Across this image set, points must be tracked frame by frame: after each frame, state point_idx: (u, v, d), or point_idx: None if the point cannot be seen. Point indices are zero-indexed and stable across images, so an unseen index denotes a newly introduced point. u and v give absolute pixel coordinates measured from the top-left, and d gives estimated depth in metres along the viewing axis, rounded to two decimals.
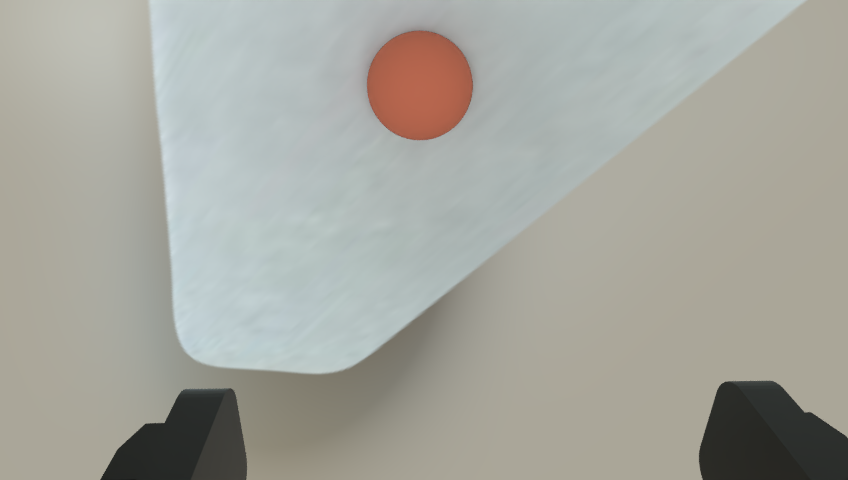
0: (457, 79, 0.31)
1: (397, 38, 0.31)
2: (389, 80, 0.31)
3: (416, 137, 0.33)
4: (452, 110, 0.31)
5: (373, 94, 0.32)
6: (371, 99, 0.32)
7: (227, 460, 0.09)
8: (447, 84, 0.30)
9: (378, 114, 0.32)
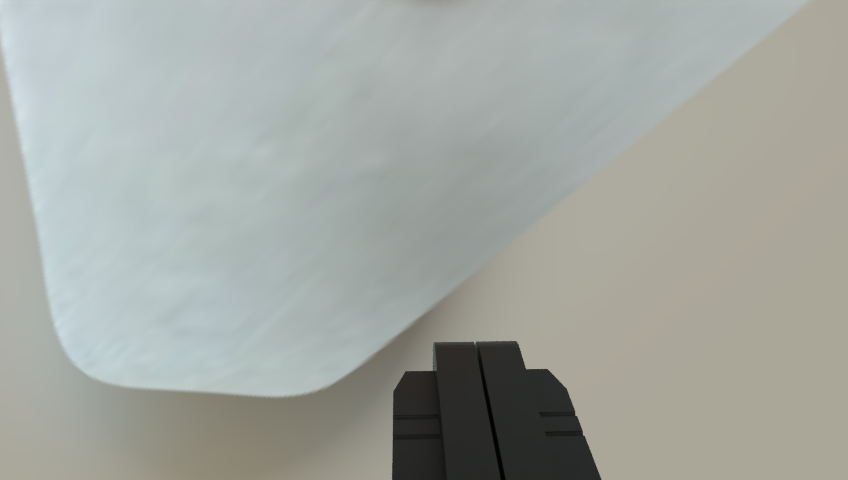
0: None
1: None
2: None
3: None
4: None
5: None
6: None
7: None
8: None
9: None
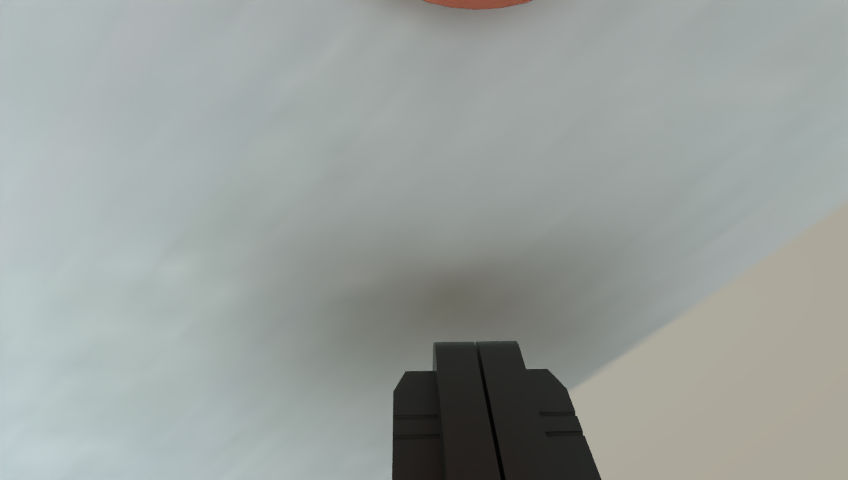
0: None
1: None
2: None
3: None
4: None
5: None
6: None
7: None
8: None
9: None
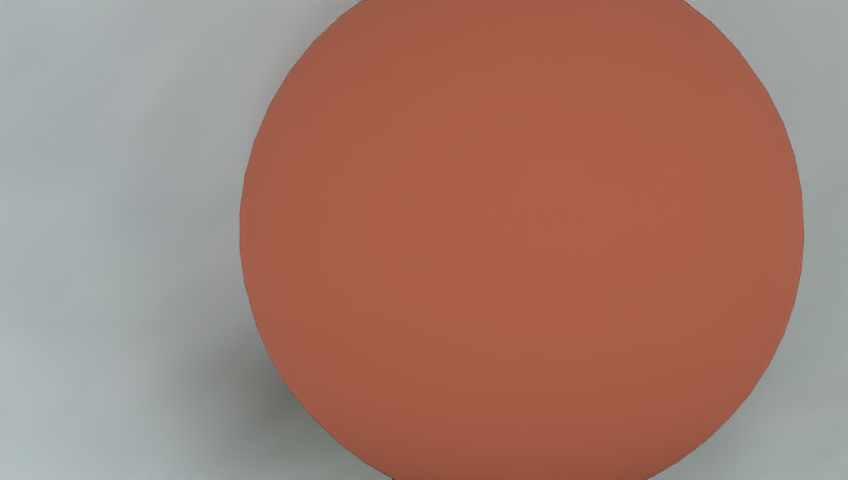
0: (786, 184, 0.05)
1: None
2: (336, 189, 0.04)
3: None
4: (748, 379, 0.05)
5: (252, 277, 0.05)
6: (251, 302, 0.06)
7: None
8: (752, 218, 0.04)
9: (288, 385, 0.06)
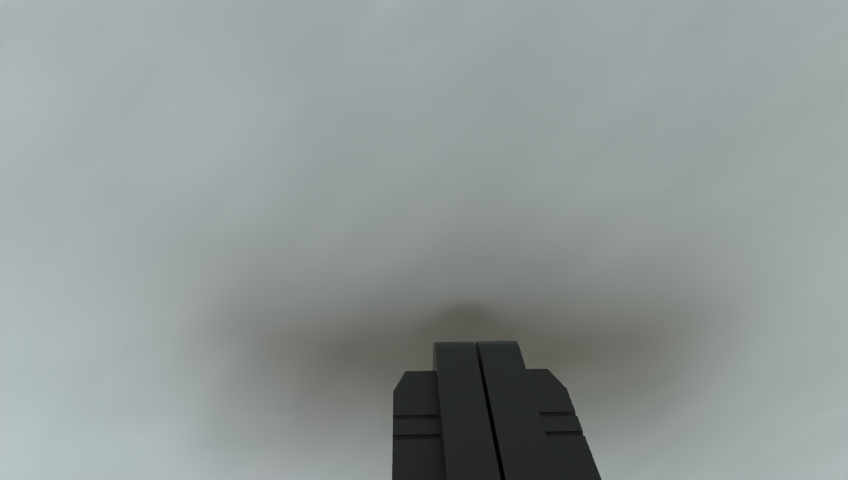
0: None
1: None
2: None
3: None
4: None
5: None
6: None
7: None
8: None
9: None
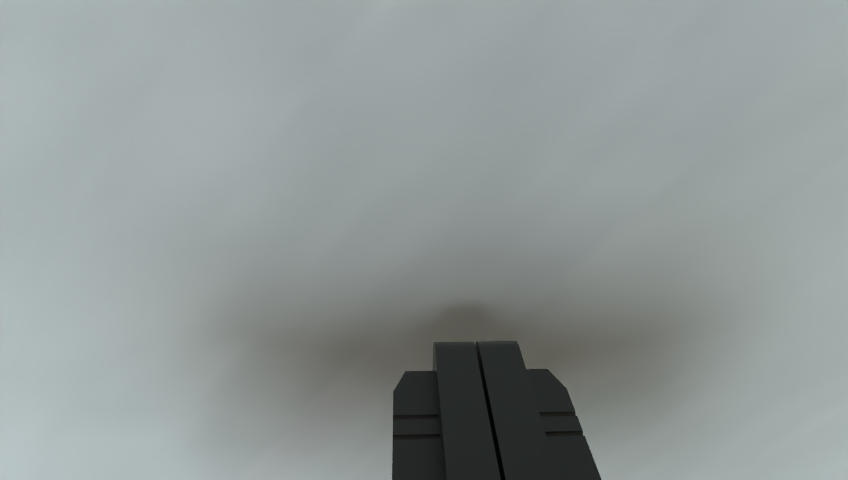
0: None
1: None
2: None
3: None
4: None
5: None
6: None
7: None
8: None
9: None
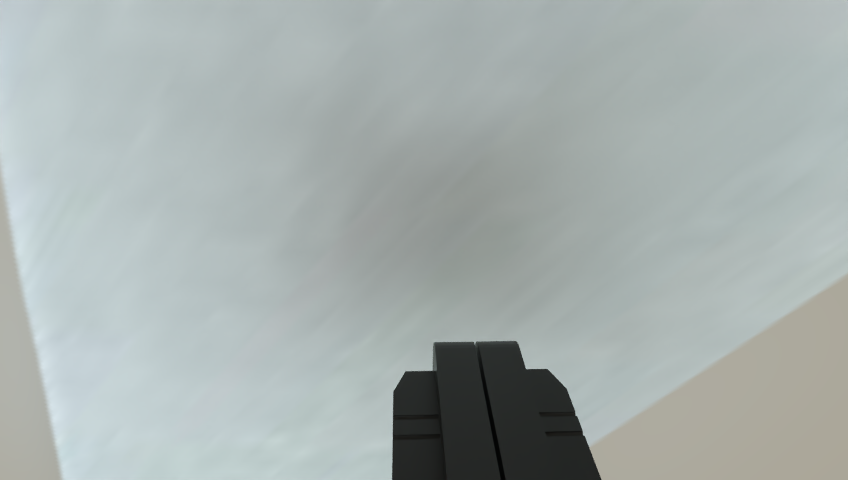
0: None
1: None
2: None
3: None
4: None
5: None
6: None
7: None
8: None
9: None
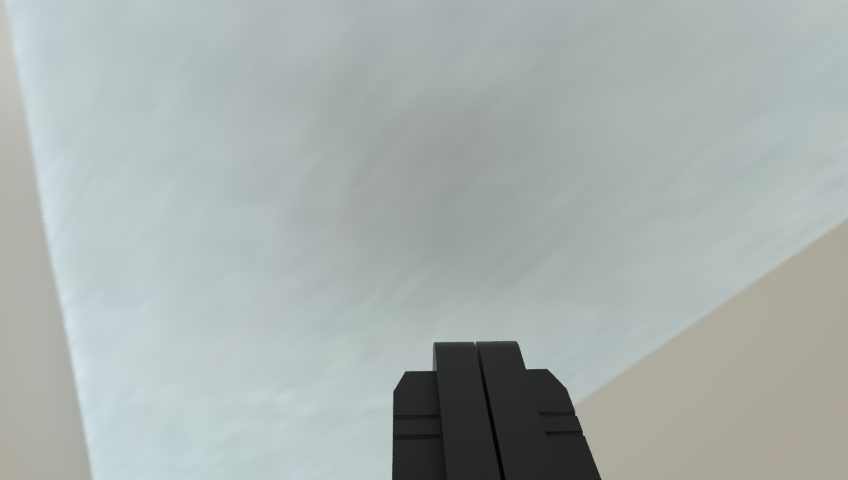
0: None
1: None
2: None
3: None
4: None
5: None
6: None
7: None
8: None
9: None
